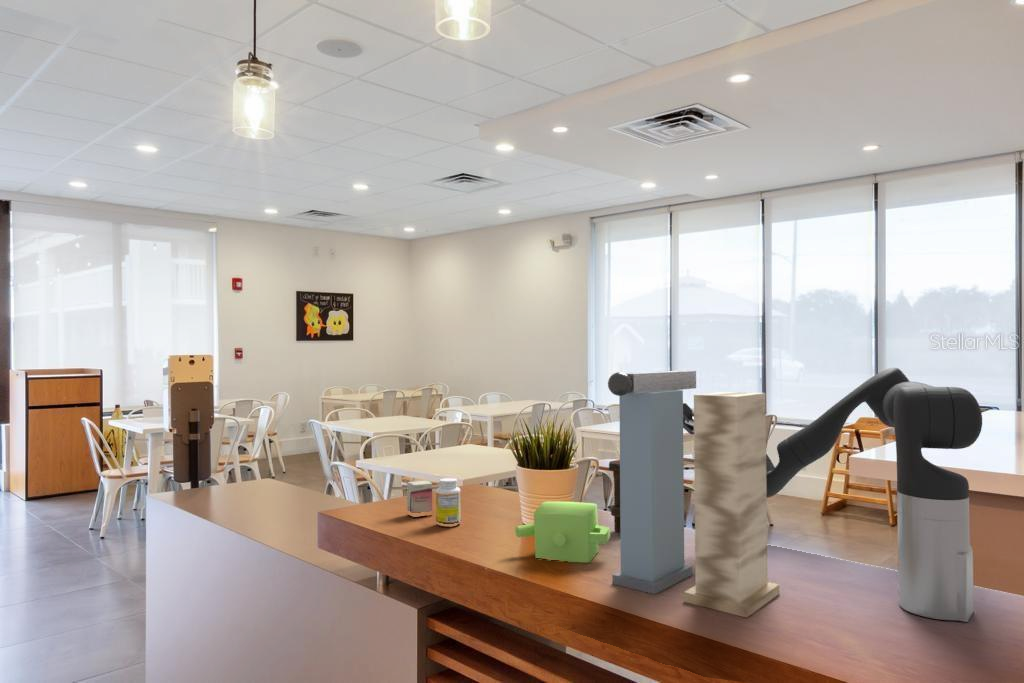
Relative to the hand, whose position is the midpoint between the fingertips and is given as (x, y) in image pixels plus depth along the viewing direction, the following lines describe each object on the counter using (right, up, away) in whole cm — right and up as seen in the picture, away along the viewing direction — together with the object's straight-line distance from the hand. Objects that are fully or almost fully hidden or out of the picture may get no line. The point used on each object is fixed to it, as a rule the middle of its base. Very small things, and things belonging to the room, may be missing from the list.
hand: (702, 408), depth 133 cm
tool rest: (-2, -27, -24) cm, 37 cm away
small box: (-59, -29, +32) cm, 73 cm away
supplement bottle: (-51, -29, +23) cm, 63 cm away
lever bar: (-12, +4, -14) cm, 19 cm away
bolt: (-13, -28, +16) cm, 35 cm away
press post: (-13, -28, -15) cm, 34 cm away
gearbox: (-27, -28, -2) cm, 39 cm away
